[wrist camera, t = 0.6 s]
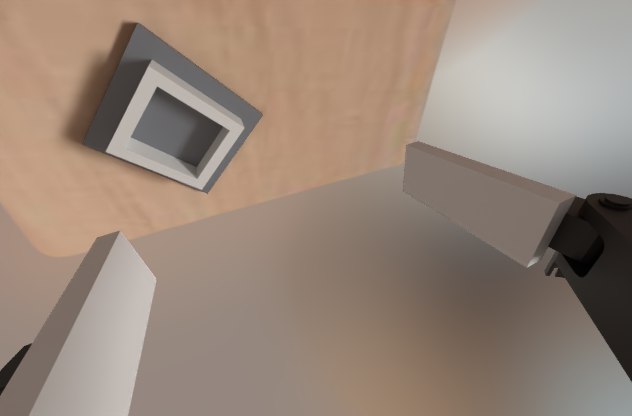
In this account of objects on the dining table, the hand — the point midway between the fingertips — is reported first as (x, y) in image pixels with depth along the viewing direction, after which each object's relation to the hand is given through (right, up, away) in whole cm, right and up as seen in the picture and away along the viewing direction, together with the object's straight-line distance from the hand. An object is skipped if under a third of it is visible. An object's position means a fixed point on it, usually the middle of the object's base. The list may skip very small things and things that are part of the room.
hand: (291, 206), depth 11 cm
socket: (-15, +10, +18) cm, 26 cm away
